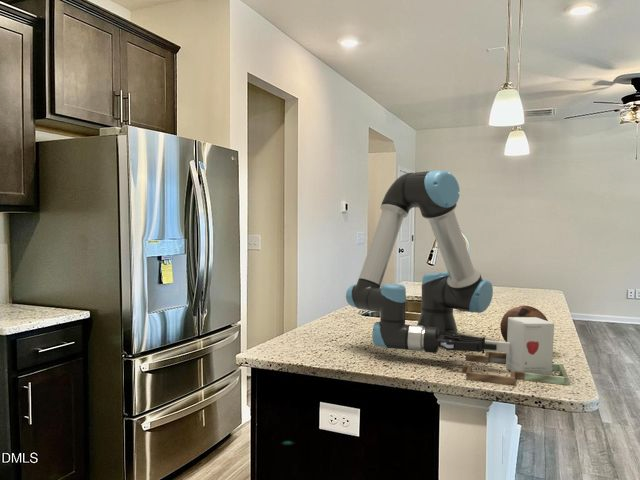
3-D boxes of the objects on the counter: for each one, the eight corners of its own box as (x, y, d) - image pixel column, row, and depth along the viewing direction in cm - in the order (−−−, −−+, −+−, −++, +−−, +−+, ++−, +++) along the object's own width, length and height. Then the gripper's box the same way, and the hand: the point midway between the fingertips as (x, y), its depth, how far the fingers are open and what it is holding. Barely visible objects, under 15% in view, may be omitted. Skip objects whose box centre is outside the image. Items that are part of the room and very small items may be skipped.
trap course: (460, 378, 130) (460, 371, 130) (467, 354, 154) (467, 349, 154) (571, 392, 121) (571, 385, 121) (560, 365, 145) (560, 359, 145)
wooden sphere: (513, 343, 171) (514, 300, 171) (557, 352, 160) (558, 306, 159) (491, 350, 161) (492, 304, 161) (536, 360, 150) (537, 311, 149)
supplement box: (521, 378, 131) (523, 323, 131) (505, 368, 140) (506, 316, 140) (553, 377, 132) (555, 322, 132) (534, 368, 141) (536, 316, 141)
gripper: (427, 346, 152) (509, 355, 143) (420, 356, 139) (508, 367, 131) (428, 322, 151) (509, 329, 143) (421, 330, 139) (509, 339, 131)
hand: (509, 347), depth 137 cm, fingers closed
